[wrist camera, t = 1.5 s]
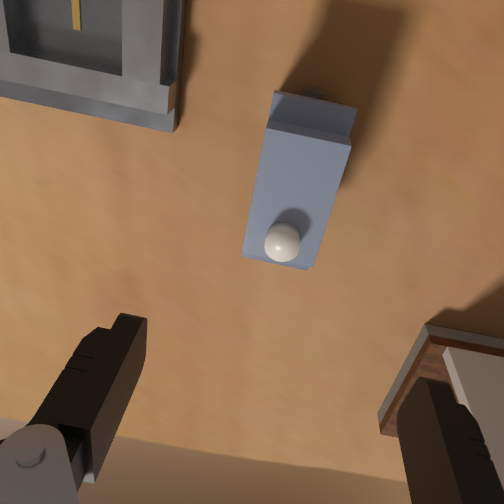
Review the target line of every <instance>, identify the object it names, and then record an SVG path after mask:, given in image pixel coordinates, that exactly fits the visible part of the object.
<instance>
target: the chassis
mask: <svg viewBox="0 0 504 504" xmlns="http://www.w3.org/2000/svg"><path fill="white" fill-rule="evenodd" d="M186 7H187V0H0V96H1V97H6V98H10V99H15V100H20V101H24V102H29V103H34V104H39V105H43V106H48V107H53V108H57V109H62V110H67V111H71V112H76V113H81V114H85V115H90V116H95V117H99V118H104V119H109V120H113V121H118V122H123V123H128V124H132V125H137V126H142V127H146V128H151V129H156V130H160V131H165V132H170V133H174V131H175V130H176V129H177V127H178V113H179V100H180V87H181V73H182V60H183V47H184V33H185V20H186Z"/></svg>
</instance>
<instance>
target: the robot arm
mask: <svg viewBox="0 0 504 504" xmlns="http://www.w3.org/2000/svg"><path fill="white" fill-rule="evenodd" d="M146 339H147V318H144V317H139V316H135V315H130V314H125V313H120V314H119V315H118V317H117V319H116V321H115V322H114V324H113V326H112V328H111V329H105V328H100V327H97V328H96V329H94V330H93V331H92V332H90V333H89V334H88V335H87V336H85V337H84V338H83V339H82V340H81V342H80V343H79V345H78V346H77V348H76V350H75V351H74V353H73V356H72V357H71V358H70V359H69V361H68V362H67V364H66V366H65V369H64V370H62V372H61V374H60V375H59V377H58V379H57V380H56V382H55V383H54V385H53V387H52V388H51V390H50V391H49V393H48V395H47V396H46V398H45V399H44V401H43V403H42V404H41V406H40V407H39V409H38V411H37V412H36V414H35V415H34V417H33V418H32V420H31V421H30V422H29V423H28V424H27V425H26V426H25V427H23V428H21V429H19V430H17V431H16V432H14V433H12V434H11V435H10V436H8V437H7V438H6V439H3V440H0V504H80V502H79V498H78V494H77V493H78V490H79V488H80V486H81V484H82V481H84V482H88V483H95V481H96V479H97V476H98V474H99V472H100V469H101V467H102V465H103V462H104V460H105V457H106V455H107V453H108V450H109V448H110V446H111V443H112V441H113V439H114V436H115V434H116V431H117V429H118V427H119V424H120V422H121V420H122V417H123V415H124V412H125V410H126V408H127V405H128V403H129V401H130V398H131V396H132V393H133V391H134V389H135V386H136V384H137V382H138V379H139V377H140V374H141V372H142V369H143V365H144V361H145V356H146ZM397 432H398V437H399V442H400V447H401V452H402V457H403V462H404V467H405V472H406V477H407V482H408V487H409V491H410V497H411V502H412V504H504V489H503V487H502V484H501V482H500V479H499V476H498V474H497V471H496V468H495V466H494V463H493V461H492V460H491V459H490V458H491V455H490V453H489V450H488V448H487V445H485V440H484V437H483V434H482V432H481V429H480V427H479V424H478V422H477V421H476V419H475V418H474V417H473V415H472V414H471V413H470V411H469V410H468V409H467V407H466V406H465V405H463V404H459V403H457V401H456V399H455V396H454V393H453V390H452V387H451V385H450V384H449V383H448V382H445V381H440V380H436V379H431V378H426V377H419V378H418V379H417V380H416V381H415V383H414V385H413V386H412V388H411V390H410V391H409V393H408V394H407V396H406V398H405V399H404V401H403V403H402V404H401V406H400V408H399V410H398V414H397Z"/></svg>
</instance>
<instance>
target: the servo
mask: <svg viewBox="0 0 504 504" xmlns="http://www.w3.org/2000/svg"><path fill="white" fill-rule="evenodd" d="M322 96H323V90H322V89H317V88H312V87H307V86H305V88H304V92H303V96H301V95H296V94H292V93H287V92H282V91H278V90H275V91H274V94H273V99H272V104H271V109H270V114H269V119H268V123H267V126H266V130H265V136H264V141H263V146H262V151H261V156H260V161H259V166H258V171H257V176H256V181H255V186H254V192H253V197H252V202H251V207H250V212H249V217H248V222H247V227H246V232H245V237H244V242H243V248H242V256H241V257H246V258H251V259H255V260H260V261H265V262H269V263H274V264H279V265H284V266H288V267H293V268H298V269H302V270H308V267H312V268H313V265H314V262H315V259H316V256H317V253H318V250H319V247H320V243H321V240H322V237H323V234H324V231H325V228H326V225H327V222H328V219H329V216H330V212H331V209H332V206H333V203H334V200H335V197H336V194H337V191H338V188H339V184H340V181H341V178H342V175H343V172H344V169H345V166H346V163H347V160H348V157H349V153H350V150H351V147H352V145H351V141H350V137H349V136H350V133H351V130H352V127H353V124H354V120H355V117H356V114H357V111H358V110H357V108H356V107H353V106H348V105H343V104H339V103H334V102H329V101H324V100H322Z"/></svg>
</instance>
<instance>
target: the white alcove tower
mask: <svg viewBox="0 0 504 504" xmlns="http://www.w3.org/2000/svg"><path fill="white" fill-rule="evenodd" d="M419 377H426V378H431V379H436V380H440V381H445V382H448V383H449V384H450V385H451V387H452V390H453V393H454V396H455V399H456V401H457V403H459V404H463V405H465V406H466V407H467V409H468V410H469V411H470V413H471V414H472V415H473V417H474V418H475V419H476V421H477V422H478V424H479V427H480V429H481V432H482V434H483V437H484V440H485V445H487V448H488V450H489V453H490V455H491V458H490V459H491V460H492V461H493V463H494V466H495V468H496V471H497V474H498V476H499V479H500V482H501V484H502V487H503V489H504V339H502V338H496V337H491V336H486V335H481V334H476V333H470V332H465V331H460V330H455V329H450V328H444V327H439V326H434V325H429V324H424V326H423V328H422V330H421V332H420V334H419V336H418V338H417V340H416V342H415V343H414V345H413V347H412V349H411V351H410V353H409V355H408V357H407V359H406V360H405V362H404V364H403V366H402V368H401V370H400V372H399V374H398V376H397V378H396V379H395V381H394V383H393V385H392V387H391V389H390V391H389V393H388V395H387V397H386V398H385V400H384V402H383V404H382V406H381V408H380V410H379V412H378V421H379V427H380V434H382V435H387V436H392V437H398V432H397V414H398V410H399V408H400V406H401V404H402V403H403V401H404V399H405V398H406V396H407V394H408V393H409V391H410V390H411V388H412V386H413V385H414V383H415V381H416V380H417V379H418V378H419ZM398 438H399V437H398Z"/></svg>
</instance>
